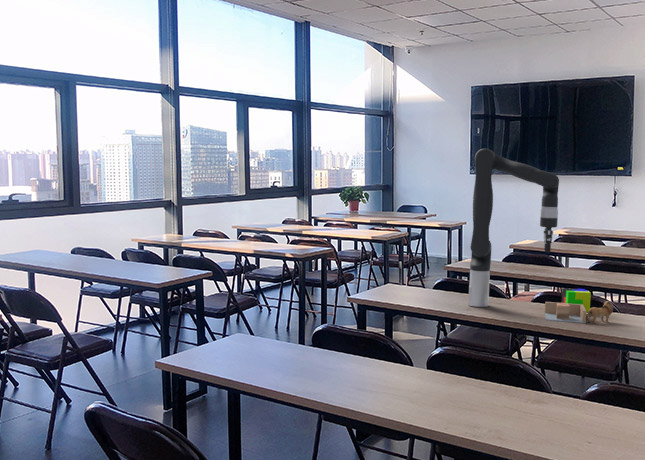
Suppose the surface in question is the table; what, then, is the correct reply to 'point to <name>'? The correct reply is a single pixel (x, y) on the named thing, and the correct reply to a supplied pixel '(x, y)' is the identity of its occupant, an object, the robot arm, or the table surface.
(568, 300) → the puzzle toy
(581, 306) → the arena
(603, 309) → the lion figurine
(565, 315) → the block
